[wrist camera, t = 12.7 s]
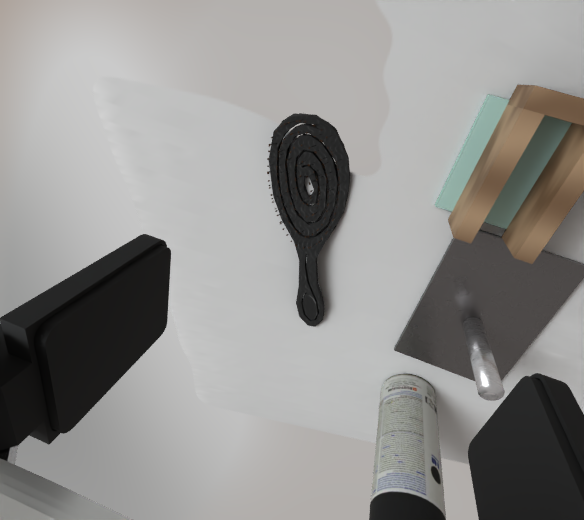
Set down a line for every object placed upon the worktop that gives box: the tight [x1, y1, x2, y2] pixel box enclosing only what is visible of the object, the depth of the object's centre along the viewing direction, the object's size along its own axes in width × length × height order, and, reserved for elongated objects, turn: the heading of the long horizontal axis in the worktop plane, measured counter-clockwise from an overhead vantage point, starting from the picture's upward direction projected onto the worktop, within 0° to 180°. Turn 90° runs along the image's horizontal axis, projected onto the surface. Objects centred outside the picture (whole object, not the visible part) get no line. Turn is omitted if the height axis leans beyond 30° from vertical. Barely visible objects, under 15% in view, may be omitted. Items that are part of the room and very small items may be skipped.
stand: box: [394, 230, 584, 400], centre depth 34 cm, size 17×12×10 cm
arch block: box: [448, 85, 584, 264], centre depth 29 cm, size 12×7×4 cm, turn 165°
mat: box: [435, 94, 572, 229], centre depth 31 cm, size 10×10×1 cm
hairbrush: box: [267, 114, 350, 326], centre depth 38 cm, size 8×4×25 cm
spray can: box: [369, 374, 446, 520], centre depth 37 cm, size 7×7×20 cm
